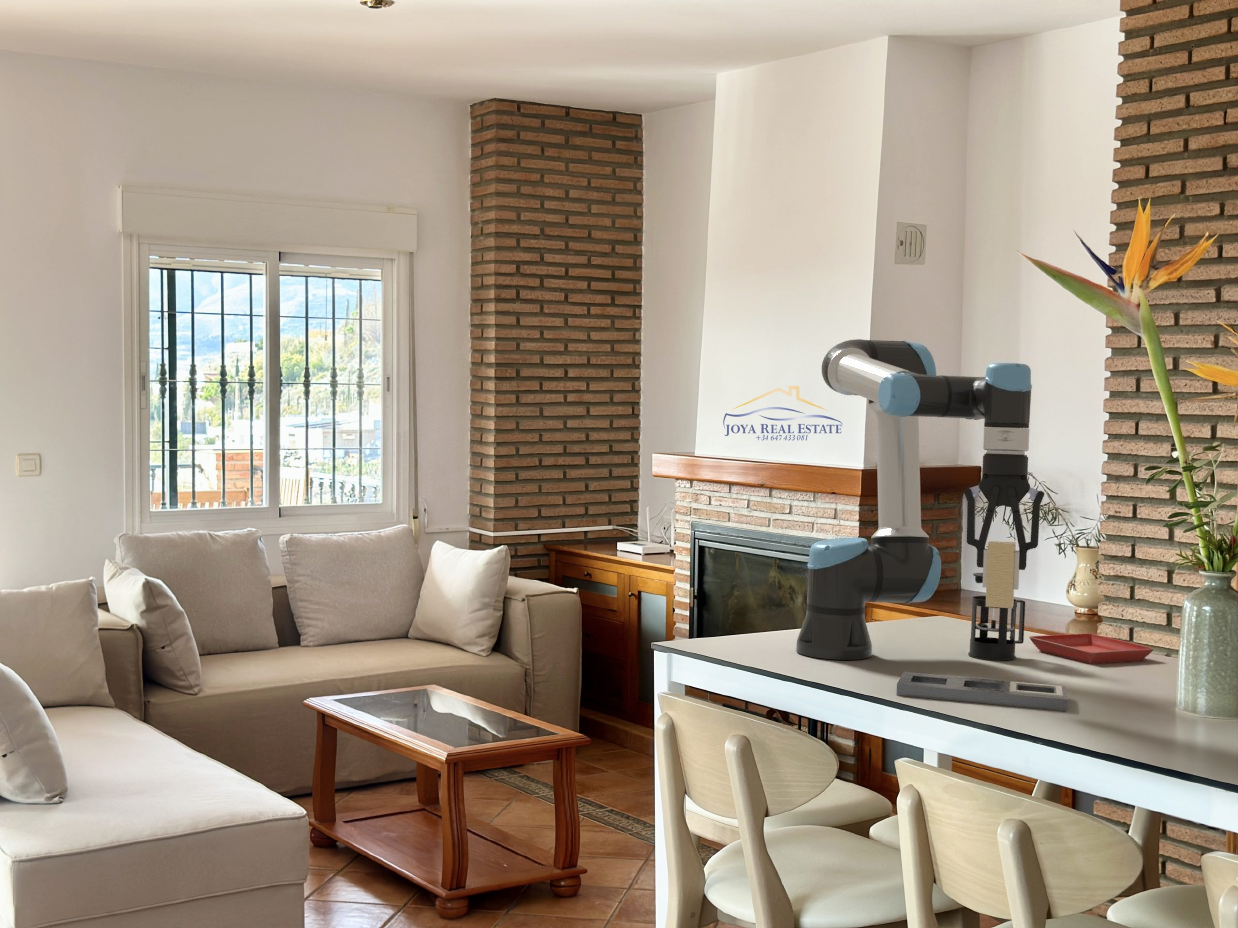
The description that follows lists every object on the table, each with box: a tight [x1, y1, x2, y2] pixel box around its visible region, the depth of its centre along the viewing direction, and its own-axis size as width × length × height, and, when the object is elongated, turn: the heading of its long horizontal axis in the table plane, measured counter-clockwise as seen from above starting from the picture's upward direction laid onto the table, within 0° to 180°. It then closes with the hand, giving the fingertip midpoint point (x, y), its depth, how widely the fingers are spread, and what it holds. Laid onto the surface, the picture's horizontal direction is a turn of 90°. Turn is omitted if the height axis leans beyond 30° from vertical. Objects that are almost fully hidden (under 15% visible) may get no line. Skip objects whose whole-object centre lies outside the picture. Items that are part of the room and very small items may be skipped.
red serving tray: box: [1028, 633, 1155, 665], centre depth 278 cm, size 18×18×3 cm
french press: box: [968, 545, 1026, 662], centre depth 272 cm, size 12×9×23 cm
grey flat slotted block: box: [896, 671, 1068, 712], centre depth 231 cm, size 28×12×2 cm, turn 73°
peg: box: [985, 540, 1017, 609], centre depth 229 cm, size 4×4×11 cm
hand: (1000, 587), depth 230 cm, fingers closed on peg, 4 cm apart
